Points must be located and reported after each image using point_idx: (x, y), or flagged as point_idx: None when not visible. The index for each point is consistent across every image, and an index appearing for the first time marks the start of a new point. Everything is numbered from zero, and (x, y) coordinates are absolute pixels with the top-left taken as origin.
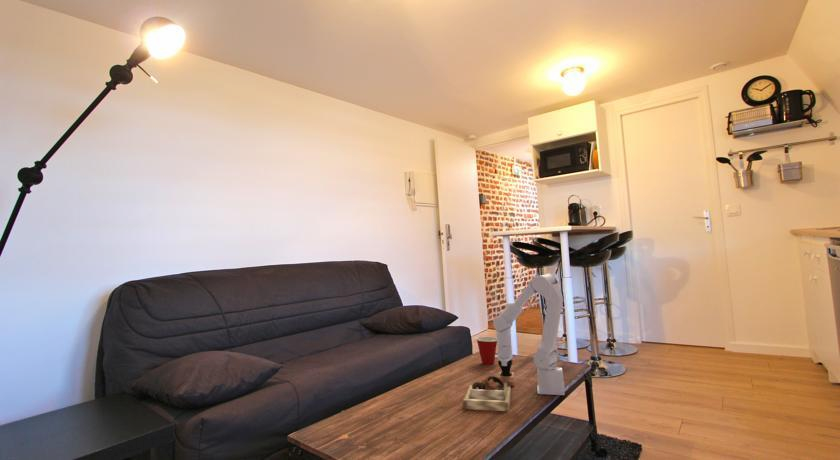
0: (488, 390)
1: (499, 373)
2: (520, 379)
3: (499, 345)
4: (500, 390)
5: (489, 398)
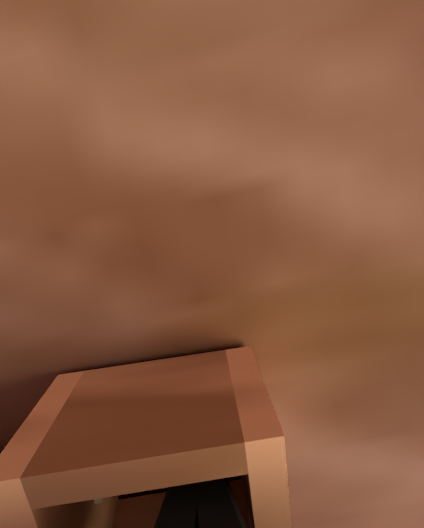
0: None
1: (190, 463)
2: (342, 519)
3: None
4: None
5: None
